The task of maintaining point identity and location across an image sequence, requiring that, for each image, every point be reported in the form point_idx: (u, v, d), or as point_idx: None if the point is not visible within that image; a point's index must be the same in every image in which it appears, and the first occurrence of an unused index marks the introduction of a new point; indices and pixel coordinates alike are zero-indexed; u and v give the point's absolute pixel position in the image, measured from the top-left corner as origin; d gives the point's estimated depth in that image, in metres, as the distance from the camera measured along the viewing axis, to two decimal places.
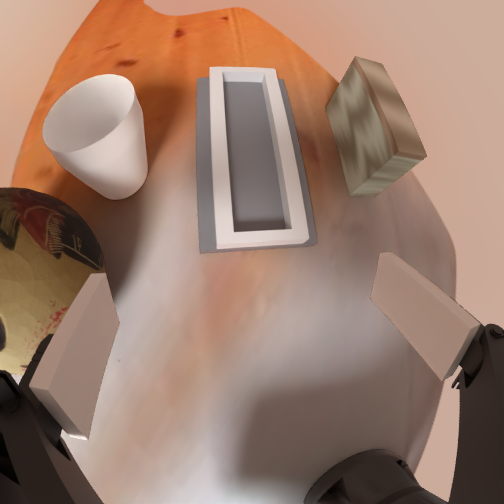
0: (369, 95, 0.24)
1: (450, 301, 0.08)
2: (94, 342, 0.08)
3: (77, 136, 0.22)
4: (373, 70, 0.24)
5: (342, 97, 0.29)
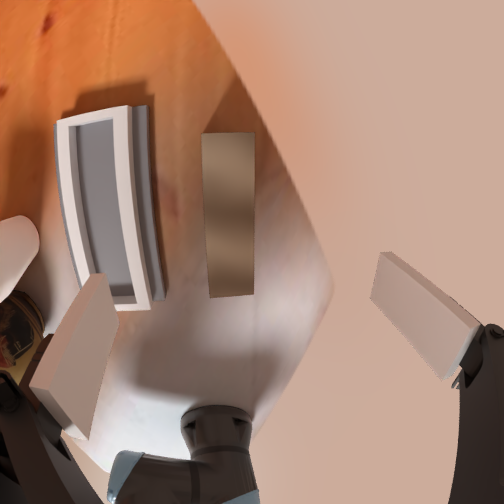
0: None
1: (450, 301, 0.08)
2: (94, 342, 0.08)
3: None
4: (225, 160, 0.20)
5: None
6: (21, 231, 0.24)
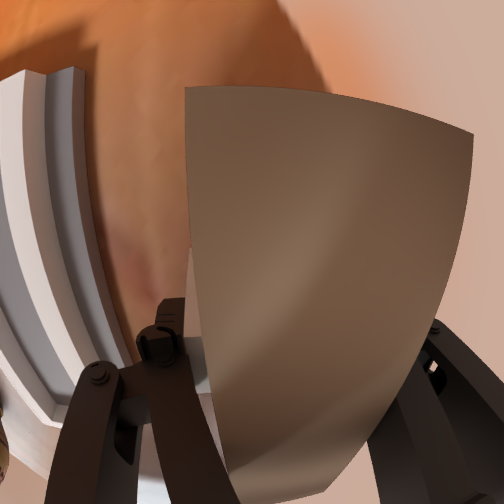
0: None
1: None
2: None
3: None
4: (343, 277, 0.03)
5: None
6: None
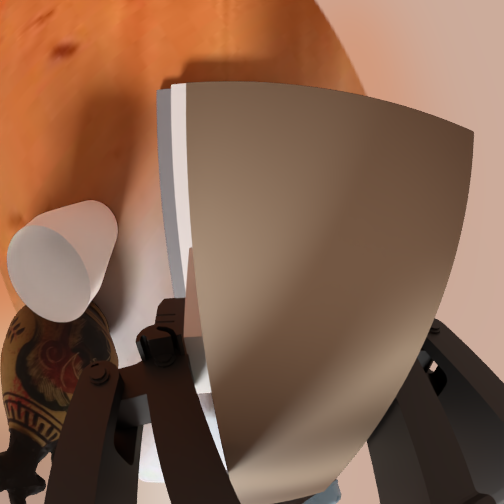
0: None
1: None
2: None
3: (39, 233, 0.21)
4: (345, 274, 0.03)
5: None
6: (103, 218, 0.24)
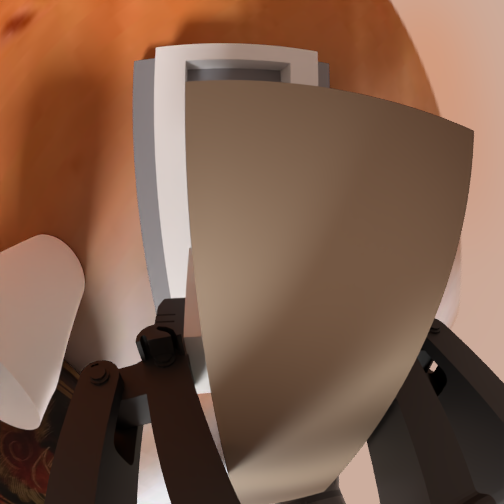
0: None
1: None
2: None
3: None
4: (345, 274, 0.03)
5: None
6: (55, 271, 0.14)
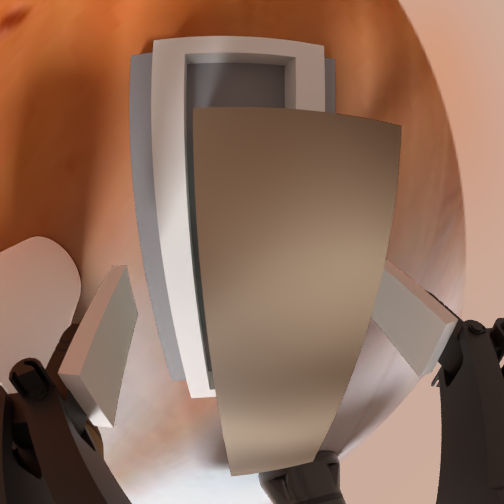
0: None
1: (427, 296, 0.09)
2: (117, 331, 0.09)
3: None
4: (296, 227, 0.05)
5: None
6: (49, 275, 0.13)
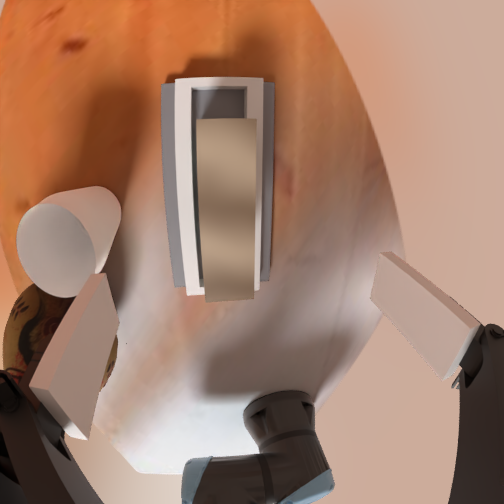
0: None
1: (450, 301, 0.08)
2: (94, 342, 0.08)
3: (46, 215, 0.22)
4: (223, 149, 0.17)
5: None
6: (108, 202, 0.25)
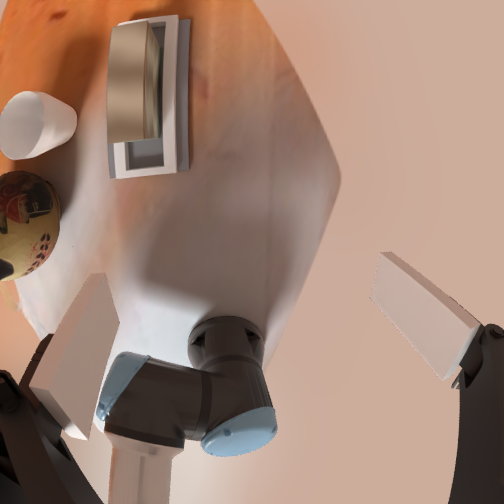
0: None
1: (450, 301, 0.08)
2: (94, 342, 0.08)
3: (23, 118, 0.24)
4: (126, 39, 0.19)
5: None
6: (66, 106, 0.27)
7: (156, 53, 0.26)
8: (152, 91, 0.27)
